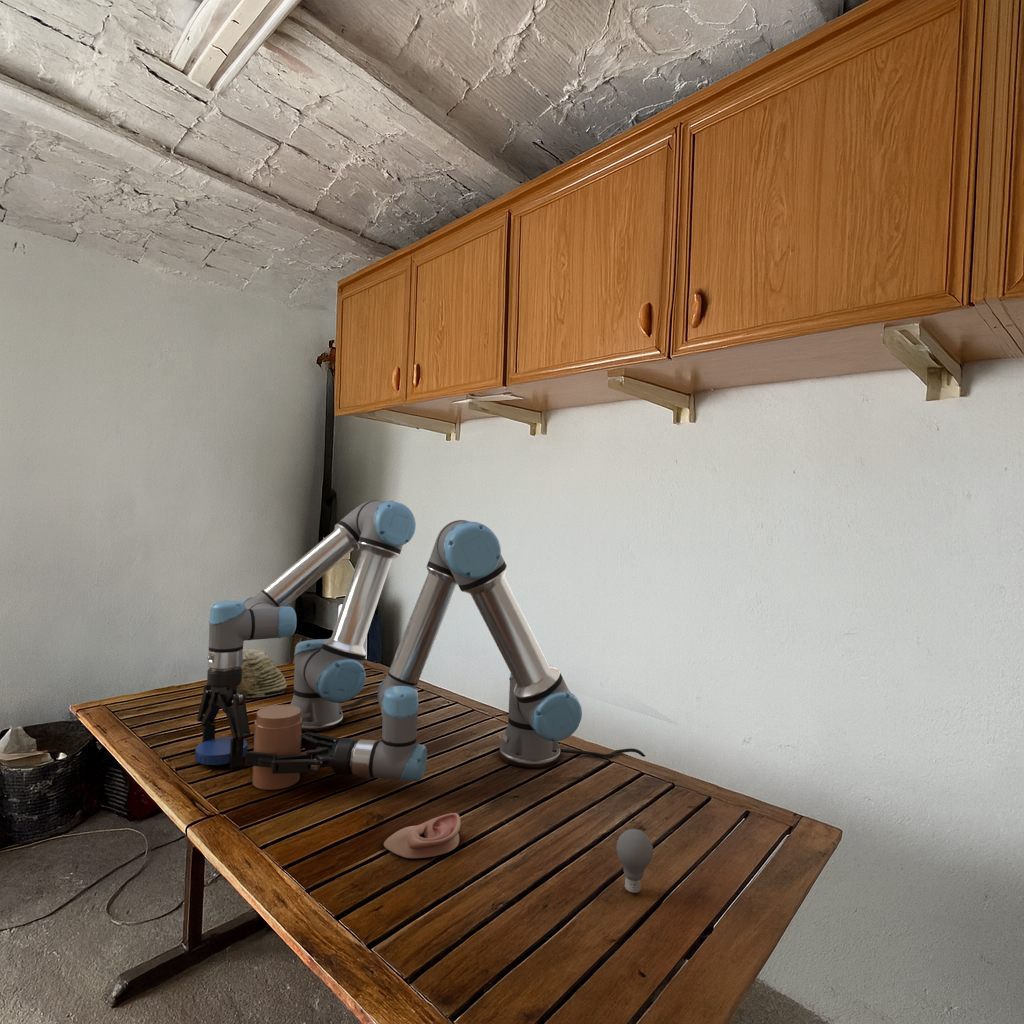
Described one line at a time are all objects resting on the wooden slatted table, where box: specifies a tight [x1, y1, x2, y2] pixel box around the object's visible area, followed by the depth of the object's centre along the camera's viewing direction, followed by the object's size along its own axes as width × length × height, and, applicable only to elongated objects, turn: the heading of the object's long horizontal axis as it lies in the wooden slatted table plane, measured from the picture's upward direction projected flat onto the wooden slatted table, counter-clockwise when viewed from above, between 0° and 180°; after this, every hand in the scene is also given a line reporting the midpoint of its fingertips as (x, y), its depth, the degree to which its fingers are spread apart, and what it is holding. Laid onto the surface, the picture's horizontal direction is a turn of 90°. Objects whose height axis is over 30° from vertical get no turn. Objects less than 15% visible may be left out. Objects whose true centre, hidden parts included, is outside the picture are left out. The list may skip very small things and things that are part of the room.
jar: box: [251, 704, 303, 791], centre depth 141 cm, size 10×10×15 cm
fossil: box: [237, 646, 288, 699], centre depth 198 cm, size 9×18×15 cm, turn 132°
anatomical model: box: [383, 812, 462, 859], centre depth 117 cm, size 13×4×12 cm
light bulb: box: [615, 828, 654, 894], centre depth 106 cm, size 6×6×10 cm
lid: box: [194, 736, 248, 766], centre depth 149 cm, size 11×11×2 cm
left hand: (221, 759), depth 150 cm, fingers closed on lid, 11 cm apart
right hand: (259, 748), depth 141 cm, fingers closed on jar, 10 cm apart
